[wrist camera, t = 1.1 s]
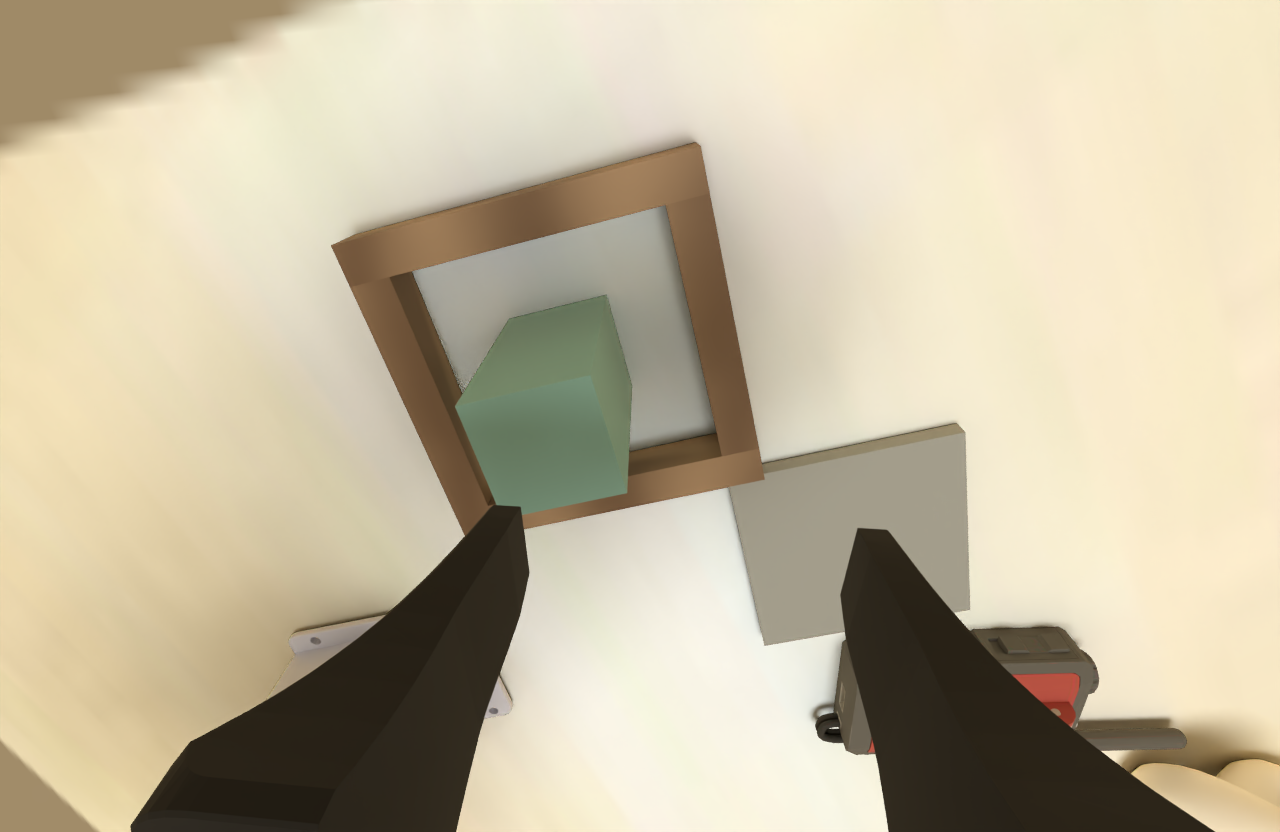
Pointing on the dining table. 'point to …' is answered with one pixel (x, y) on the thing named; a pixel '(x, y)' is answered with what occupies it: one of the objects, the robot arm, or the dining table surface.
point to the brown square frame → (538, 211)
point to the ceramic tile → (852, 525)
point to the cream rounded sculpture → (1221, 793)
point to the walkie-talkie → (1036, 663)
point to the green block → (552, 409)
